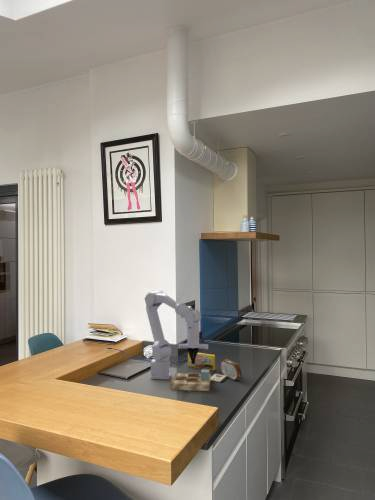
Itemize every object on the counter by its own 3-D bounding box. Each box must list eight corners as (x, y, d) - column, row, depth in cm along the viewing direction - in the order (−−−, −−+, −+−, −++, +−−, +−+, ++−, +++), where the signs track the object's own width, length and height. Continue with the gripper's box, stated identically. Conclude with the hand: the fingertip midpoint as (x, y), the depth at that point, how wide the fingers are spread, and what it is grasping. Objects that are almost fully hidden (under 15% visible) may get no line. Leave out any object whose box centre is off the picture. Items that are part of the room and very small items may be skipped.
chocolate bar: (234, 370, 200) (222, 381, 184) (234, 372, 200) (222, 383, 184) (219, 368, 204) (205, 378, 188) (219, 370, 204) (205, 380, 188)
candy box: (187, 366, 209) (187, 351, 209) (189, 365, 211) (189, 351, 211) (213, 370, 202) (213, 355, 202) (215, 369, 204) (215, 354, 204)
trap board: (170, 389, 175) (170, 380, 175) (175, 379, 189) (175, 370, 189) (209, 390, 173) (209, 381, 173) (210, 380, 187) (210, 371, 187)
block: (200, 380, 179) (200, 372, 179) (201, 377, 183) (201, 369, 183) (209, 380, 178) (209, 372, 178) (209, 377, 182) (209, 369, 182)
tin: (242, 381, 185) (242, 364, 185) (237, 382, 184) (236, 365, 184) (224, 372, 198) (224, 357, 198) (219, 373, 197) (219, 358, 197)
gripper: (177, 337, 178) (177, 365, 178) (207, 337, 176) (207, 366, 176) (179, 333, 185) (179, 361, 185) (208, 334, 183) (208, 362, 183)
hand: (193, 363), depth 181 cm, fingers closed
